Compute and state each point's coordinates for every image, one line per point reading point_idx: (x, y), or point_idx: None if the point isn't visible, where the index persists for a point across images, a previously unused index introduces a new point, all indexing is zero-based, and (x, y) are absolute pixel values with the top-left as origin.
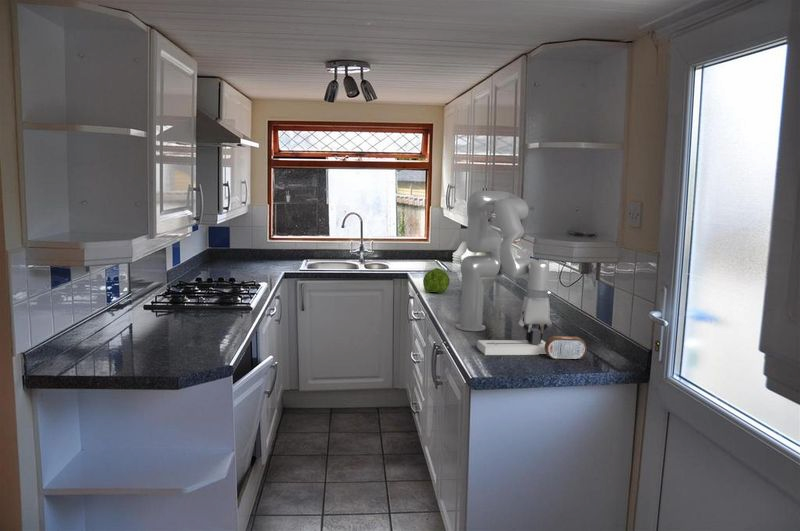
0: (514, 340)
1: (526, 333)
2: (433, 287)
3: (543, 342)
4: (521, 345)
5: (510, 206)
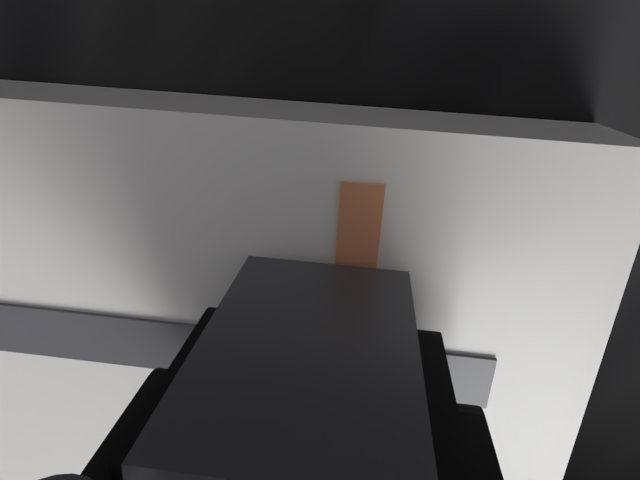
0: (20, 123)
1: (99, 451)
2: None
3: (555, 330)
4: (73, 434)
5: None
